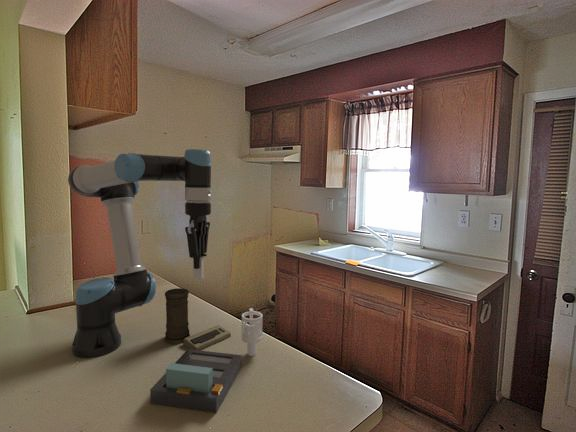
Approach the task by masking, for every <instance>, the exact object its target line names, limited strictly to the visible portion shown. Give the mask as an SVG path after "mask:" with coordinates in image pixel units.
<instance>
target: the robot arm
mask: <svg viewBox="0 0 576 432" xmlns="http://www.w3.org/2000/svg"><path fill="white" fill-rule="evenodd" d="M145 181H147V182H148V181H152V182H153V181H155V182H156V181H157V182H158V181H159V182H161V181H163V182H166V181H167V182H184V201H186V202H185V204H184V207H185V208H184V210H185V211H184V212H185V215H186V216H189V221H188V222H189V223H188V224H189V226H186V227H184V232H185V233H186V239H187V247H188V255H189V258H190V259H192V263H193V265H192V271H193V272H192V273H193V275H192V278H193V279H197V280H202V279H204V273H205V271H204V269H205V268H204V267H205V265H204V263H205V262H204V261H205V259H204V257H207V255H208V254H207V252H208V243H209V232H210V231H209V230H210V225H211V222H209V221H207V216H210V215H211V212H212V204H211V202H210V201H211V200H212V199H211V198H212V194H213V191H212V185H211V184H212V158H211V152H210V151H209V150H206V149H201V148H200V149H197V148H196V149H194V148H190V149H189V148H188V149H185V150H184V156H174V155H173V156H172V155H154V154H153V155H152V154H139V153H134V152H131V153H129V152H128V153H120V154H118V155H117V157H116V158H115V159H113V160H110V161H106V162H103V163H99V164H96V165H95V164H92V165H91V164H83V165H80V166H79V165H78V166H76V167H74V168H72V170H70V171H69V174H68V178H67V182H68V186H69V188H71V190H72V191H73V192H74V193H75V194H77V195H79V196H82V197H86V198H100V203H101V204H102V205H103V206H105V207H106V212H107V217H108V218H107V219H108V222H109V223H108V224H109V231H110V235H111V236H110V237H111V242H112V246H113V247H112V248H113V255H114V259H115V260H114V261H115V265H116V266H115V267H116V271H114V273H113V278H111V277H98V278H93V279H89V280H88V281H87V280H86V281H84V282H82V283H81V284H79V286H78V287H77V288H76V290H75V299H74V300H75V312H76V313H75V314H76V331H75V334H74V338H73V341H72V344H71V352H72V354H73V355H74V356H76V357H79V358H96V357H100V356H104V355H106V354H109V353H112V352H113V351H115V350H117V349H118V348H119V347H120V346H121V345H122V335H121V333H120V332H119V329H118V326H117V323H116V314H117V313H121V312H125V311H127V310H130V309H134V308H137V307H143V305H147V304H148V303H150V302H151V301H152V300H153V299H154V298H155V295H156V291H157V282H156V279H155V277H154V275H153V274H152V273H151V272H148V270H147V267H145V266H143V265H142V261H141V254H140V248H139V243H138V235H137V229H136V223H135V218H134V213H133V211H134V210H133V207H132V205H133V202H134V201H135V196H136V195H137V194H138V193H139V188H140V182H145Z"/></svg>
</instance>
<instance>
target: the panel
mask: <svg viewBox="0 0 576 432" xmlns="http://www.w3.org/2000/svg"><path fill="white" fill-rule="evenodd" d="M165 373H166V388H172V389H178V388H186V389H192V391H194V392H202V393H209V394H210V392H211V390H212V389H213V368H208V367H199V366H191V365H183V364H175V363H174V362H171V363H170V364H169V365H168V366H167V367H166V369H165Z"/></svg>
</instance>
